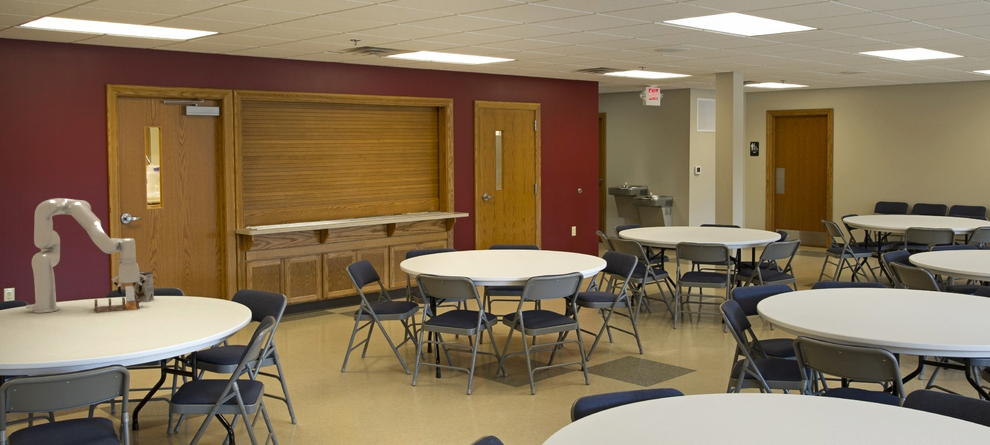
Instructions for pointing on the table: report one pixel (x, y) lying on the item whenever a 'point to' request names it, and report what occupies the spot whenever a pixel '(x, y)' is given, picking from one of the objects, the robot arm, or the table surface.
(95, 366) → the table surface
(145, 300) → the coffee box
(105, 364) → the table surface
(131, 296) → the panel
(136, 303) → the rack
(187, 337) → the table surface
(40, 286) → the robot arm
